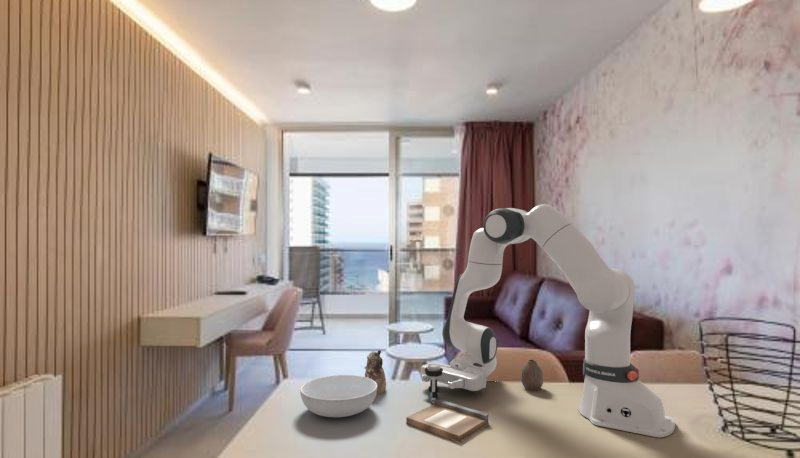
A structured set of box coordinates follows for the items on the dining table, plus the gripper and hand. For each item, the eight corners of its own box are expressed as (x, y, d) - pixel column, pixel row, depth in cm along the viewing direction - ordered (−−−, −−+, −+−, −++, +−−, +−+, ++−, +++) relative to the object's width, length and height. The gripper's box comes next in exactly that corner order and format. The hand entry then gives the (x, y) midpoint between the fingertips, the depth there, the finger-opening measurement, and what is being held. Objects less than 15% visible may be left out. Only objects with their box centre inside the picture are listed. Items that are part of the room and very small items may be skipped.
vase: (546, 387, 141) (546, 359, 141) (540, 394, 135) (540, 365, 135) (524, 383, 144) (524, 356, 144) (518, 389, 138) (517, 361, 139)
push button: (442, 405, 125) (443, 370, 125) (424, 404, 126) (424, 369, 126) (442, 397, 132) (442, 363, 132) (424, 396, 132) (424, 362, 132)
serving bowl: (365, 393, 135) (365, 371, 135) (387, 420, 115) (387, 394, 115) (295, 402, 127) (295, 378, 128) (305, 432, 108) (306, 404, 108)
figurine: (358, 389, 138) (358, 351, 138) (376, 384, 142) (376, 347, 143) (372, 396, 132) (373, 355, 133) (390, 390, 137) (390, 351, 137)
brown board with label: (488, 423, 113) (488, 414, 113) (459, 442, 103) (459, 431, 103) (437, 407, 123) (437, 398, 124) (406, 423, 113) (406, 413, 113)
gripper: (435, 355, 147) (409, 364, 137) (490, 367, 134) (465, 378, 123) (435, 374, 147) (409, 385, 137) (490, 388, 134) (465, 401, 123)
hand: (436, 382), depth 130 cm, fingers open, 8 cm apart
